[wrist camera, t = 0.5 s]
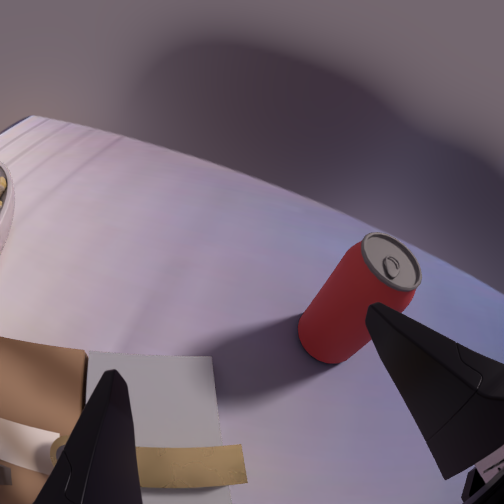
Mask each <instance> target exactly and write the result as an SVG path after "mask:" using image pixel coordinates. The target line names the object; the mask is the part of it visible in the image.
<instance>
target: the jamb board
mask: <svg viewBox="0 0 504 504" xmlns="http://www.w3.org/2000/svg"><path fill="white" fill-rule="evenodd" d="M111 369H116V370H117V371H118V372H119V373H120V375H121V376H122V377H123V378H124V380H125V381H126V383H127V386H128V391H129V398H130V405H131V411H132V417H133V423H134V433H135V445H136V447H157V448H193V447H214V446H223V445H222V438H221V430H220V423H219V415H218V407H217V399H216V391H215V382H214V373H213V363H212V356H158V355H137V354H122V353H109V352H98V351H89V360H88V372H87V388H86V404H87V402H88V400H89V398H90V396H91V394H92V393H93V391H94V389H95V387H96V385H97V384H98V382H99V380H100V378H101V376H102V375H103V373H104V372H105V371H106V370H111ZM140 488H141V495H142V501H143V504H232V500H231V495H230V489H229V485H225V486H213V487H197V488H149V487H140Z"/></svg>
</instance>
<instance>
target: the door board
mask: <svg viewBox="0 0 504 504" xmlns="http://www.w3.org/2000/svg"><path fill="white" fill-rule="evenodd" d="M87 364H88V356H87V354H86V353H85V351H84V350H79V349H71V348H63V347H56V346H49V345H43V344H36V343H31V342H25V341H20V340H14V339H9V338H4V337H0V504H32V503H33V502H34V501H35V499H36V497H37V496H38V494H39V492H40V491H41V489H42V487H43V486H44V484H45V482H46V481H47V479H48V477H49V475H50V474H51V472H52V470H53V468H54V466H53V464H52V462H51V458H50V448H51V445H52V443H53V442H54V441H55V440H56V439H57V438H59V437H61V436H70V434H71V432H72V430H73V428H74V426H75V424H76V423H77V421H78V419H79V417H80V415H81V413H82V411H83V409H84V407H85V395H86V377H87Z"/></svg>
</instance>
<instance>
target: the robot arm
mask: <svg viewBox="0 0 504 504" xmlns="http://www.w3.org/2000/svg"><path fill="white" fill-rule="evenodd" d="M365 325H366V327H367V330H368V332H369V334H370V336H371V338H372V341H373V343H374V345H375V347H376V350H377V352H378V354H379V356H380V358H381V360H382V362H383V364H384V366H385V367H386V369H387V371H388V373H389V374H390V376H391V378H392V380H393V381H394V383H395V385H396V387H397V389H398V390H399V392H400V394H401V396H402V398H403V399H404V401H405V403H406V405H407V407H408V409H409V410H410V412H411V414H412V416H413V418H414V420H415V422H416V424H417V425H418V427H419V429H420V431H421V433H422V435H423V437H424V439H425V441H426V443H427V445H428V447H429V449H430V451H431V453H432V455H433V457H434V459H435V461H436V463H437V465H438V467H439V469H440V472H441V474H442V476H443V478H444V479H445V480H447V479H449V478H451V477H453V476H455V475H456V474H458V473H460V472H462V471H464V470H466V469H467V468H469V467H471V466H472V465H475V467H474V468H473V469H472V470H471V471H469V472H468V475H467V479H466V483H465V486H464V490H463V493H462V496H461V498H462V500H463V502H464V503H463V504H504V364H503V363H500V362H498V361H495V360H493V359H491V358H488V357H486V356H483V355H481V354H479V353H477V352H474V351H472V350H470V349H468V348H466V347H464V346H463V345H461V344H459V343H456V342H455V341H453V340H451V339H449V338H447V337H446V336H444V335H442V334H440V333H438V332H436V331H434V330H432V329H430V328H428V327H427V326H425V325H423V324H421V323H419V322H417V321H415V320H413V319H411V318H409V317H408V316H406V315H404V314H402V313H400V312H398V311H396V310H394V309H392V308H390V307H388V306H386V305H384V304H382V303H380V302H376V303H373V304H370V305H369V306H368V309H367V314H366V318H365ZM32 504H143V501H142V495H141V488H140V481H139V474H138V465H137V456H136V445H135V433H134V423H133V417H132V411H131V405H130V398H129V391H128V386H127V383H126V381H125V380H124V378H123V377H122V376H121V375H120V373H119V372H118V371H117V370H116V369H111V370H106V371H105V372H104V373H103V375H102V376H101V378H100V380H99V382H98V384H97V385H96V387H95V389H94V391H93V393H92V394H91V396H90V398H89V400H88V402H87V404H86V405H85V407H84V409H83V411H82V413H81V415H80V417H79V419H78V421H77V423H76V424H75V426H74V428H73V430H72V432H71V434H70V436H69V438H68V440H67V442H66V444H65V446H64V450H62V452H61V454H60V456H59V459H58V460H57V462H56V464H55V466H54V468H53V470H52V472H51V474H50V475H49V477H48V479H47V481H46V482H45V484H44V486H43V487H42V489H41V491H40V492H39V494H38V496H37V497H36V499H35V501H34V502H33V503H32Z"/></svg>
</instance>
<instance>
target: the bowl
mask: <svg viewBox="0 0 504 504" xmlns="http://www.w3.org/2000/svg"><path fill="white" fill-rule="evenodd" d="M14 206H15V192H14V185H13V180H12V176H11V173H10V171H9V169H8V168H7V166H6V165H5V164H4V163H2V162H1V161H0V254H1V252H2V250H3V248H4V245H5V243H6V240H7V237H8V234H9V231H10V228H11V224H12V220H13V214H14Z"/></svg>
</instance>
